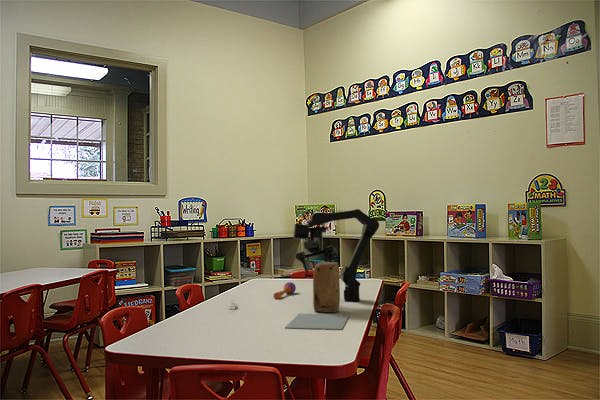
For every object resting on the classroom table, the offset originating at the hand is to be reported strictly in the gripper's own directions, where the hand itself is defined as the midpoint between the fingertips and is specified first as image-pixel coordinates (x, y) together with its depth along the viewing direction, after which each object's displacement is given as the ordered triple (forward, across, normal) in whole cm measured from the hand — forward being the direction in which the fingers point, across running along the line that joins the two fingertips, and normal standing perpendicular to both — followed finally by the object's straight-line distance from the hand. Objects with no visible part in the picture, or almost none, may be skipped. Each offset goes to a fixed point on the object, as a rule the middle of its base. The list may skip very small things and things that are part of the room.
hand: (316, 272), depth 214 cm
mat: (+28, +10, -18) cm, 35 cm away
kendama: (0, -28, +21) cm, 35 cm away
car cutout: (+17, -33, -15) cm, 41 cm away
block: (+19, +6, -2) cm, 20 cm away
